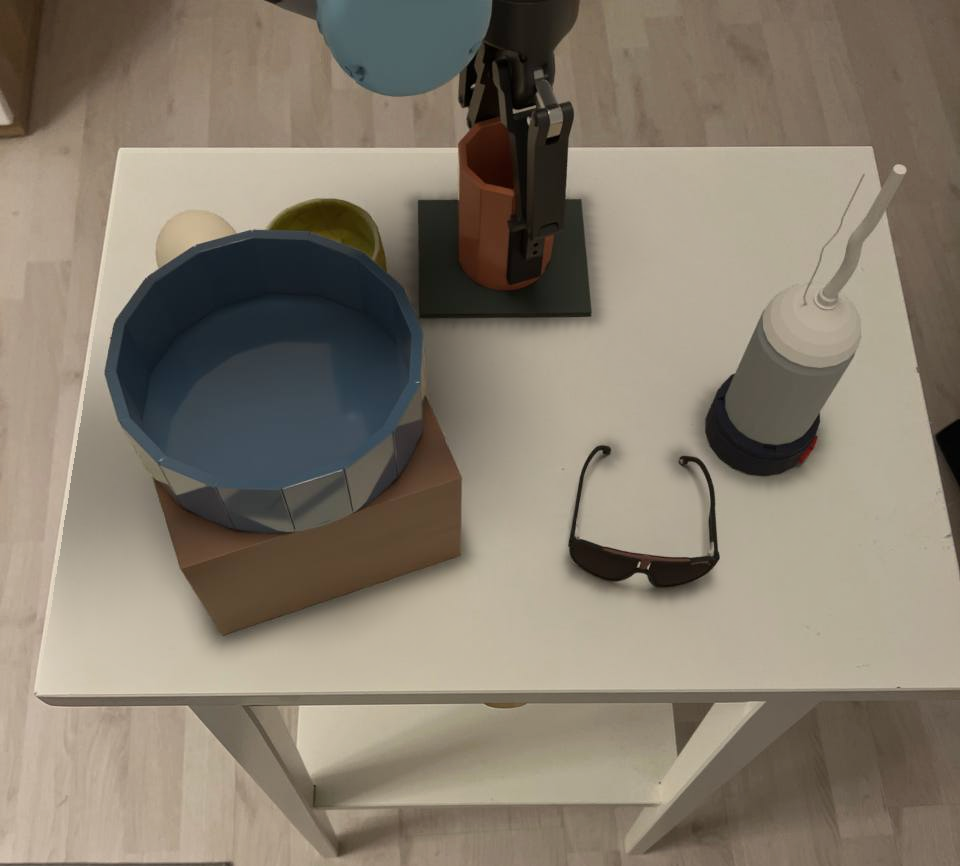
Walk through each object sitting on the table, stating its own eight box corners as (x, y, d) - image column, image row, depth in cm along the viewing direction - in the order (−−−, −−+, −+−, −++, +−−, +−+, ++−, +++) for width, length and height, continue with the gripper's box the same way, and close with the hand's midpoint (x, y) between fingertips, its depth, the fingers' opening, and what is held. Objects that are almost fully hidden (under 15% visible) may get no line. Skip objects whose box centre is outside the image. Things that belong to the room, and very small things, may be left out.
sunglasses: (561, 586, 69) (569, 548, 64) (573, 458, 75) (582, 414, 70) (706, 605, 69) (724, 568, 64) (707, 475, 74) (725, 432, 70)
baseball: (250, 246, 79) (232, 182, 73) (255, 317, 77) (238, 256, 71) (167, 255, 79) (143, 190, 73) (171, 326, 76) (145, 266, 70)
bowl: (105, 335, 63) (75, 276, 58) (371, 260, 65) (364, 198, 60) (177, 573, 57) (150, 531, 52) (466, 479, 59) (467, 431, 54)
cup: (443, 233, 80) (441, 131, 70) (530, 208, 81) (540, 105, 72) (475, 302, 77) (478, 205, 68) (565, 275, 79) (580, 177, 69)
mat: (419, 317, 77) (419, 313, 77) (418, 204, 82) (417, 199, 81) (590, 316, 78) (591, 312, 77) (580, 203, 82) (581, 198, 82)
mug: (408, 238, 78) (373, 174, 68) (407, 362, 77) (372, 315, 67) (266, 250, 80) (212, 189, 70) (265, 371, 79) (210, 326, 70)
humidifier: (818, 474, 73) (989, 225, 50) (712, 477, 73) (834, 229, 49) (800, 385, 76) (953, 110, 53) (698, 388, 76) (807, 113, 52)
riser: (158, 430, 73) (109, 336, 63) (380, 363, 76) (369, 263, 65) (222, 635, 67) (180, 569, 57) (460, 555, 70) (462, 478, 60)
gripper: (652, 51, 54) (596, 322, 75) (516, -167, 60) (501, 139, 81) (529, 83, 52) (508, 349, 74) (404, -143, 59) (418, 161, 80)
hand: (504, 238), depth 78 cm, fingers closed on cup, 8 cm apart
